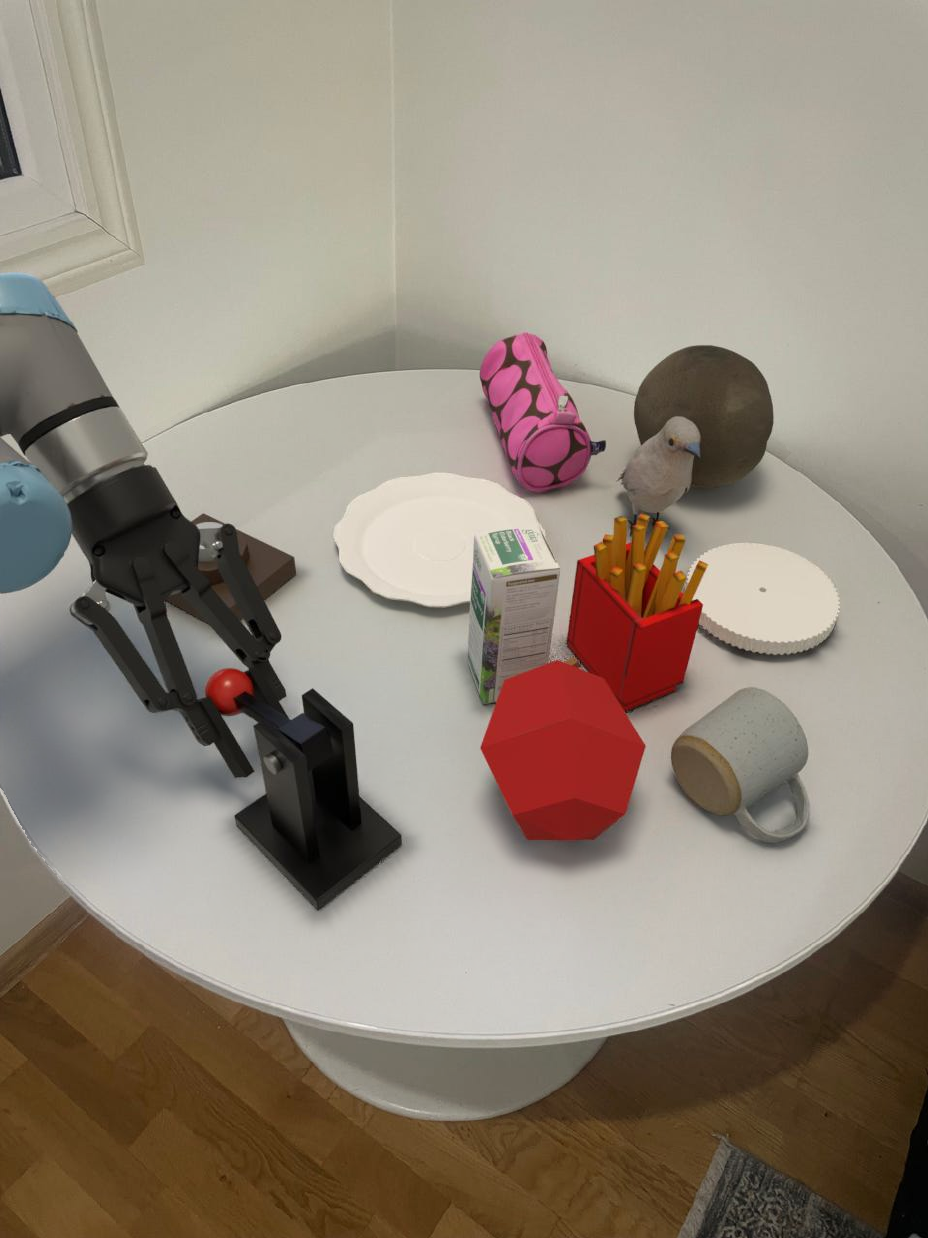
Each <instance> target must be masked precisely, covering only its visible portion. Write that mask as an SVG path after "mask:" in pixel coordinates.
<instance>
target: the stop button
mask: <svg viewBox="0 0 928 1238" xmlns="http://www.w3.org/2000/svg"><path fill="white" fill-rule="evenodd" d="M196 526H197V527H198V529H206V528H220V527H222V526H223V525H222V524H219V523H215V522H204V523H200V524H197V525H196ZM213 561H215V558H214V557H211V556H210V555H208V554H207V552H206V549H205V548H204V547H203V546H202V545H200V549H199V561H198V562H213Z"/></svg>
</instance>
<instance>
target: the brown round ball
mask: <svg viewBox="0 0 928 1238" xmlns="http://www.w3.org/2000/svg"><path fill="white" fill-rule="evenodd" d="M675 416H680V417H685V418H686V419H688V420H690V421H692V422H693V423H694V424H695V425H696V427H697V428H698V430H699V433H700V437H701V438H700V444H699V447H700V459H699V458H697V457H696V456H694V459H693V466H692V475H691V476H692V478H691V485H690V486H692V487H696V488H704V489H705V488H707V489H715V488H720V487H725V486H729V485H733V484H735V483H738V482H739V481H742V480H743V479H745V478H746V477H747V476H748V475H750V474H751V473H752V472H753V471H754V470H755V469H756V468H757V466H759V464H760V463H761V461H762V460H763V458H764V456H765V454H766V450H767V445H768V442H769V439H770V437H771V435H772V432H773V427H774V418H775V417H774V404H773V399H772V396H771V391H770V388H769V384H768V381H767V380H766V378H765V376H764V375H763V373H762V372H761V370H760V369H759V368H758V366H757V365H756V364H755V363H754V362H753V361H751V360H750V359H748V358H746V357H745V356H743V355H742V354H739V353H737V352H736V351H733V350H731V349H728V348H725V347H721V346H717V345H711V344H700V345H699V344H698V345H697V344H696V345H690V346H686V347H683V348H680V349H678V350H676V351H674V352H672V353H670V354H669V355H667V356H666V357H665V358H664V359H662V360H660V362H659V363H657V364H656V365H654V367H653V368H652V369H651V370H650V371H649V372H648V373H647V375H646V376H645V377H644V378H643V380H642V381H641V383H640V385H639V387H638V391H637V394H636V396H635V399H634V406H633V420H634V425H635V428H636V433H637V437H638V441H639V444H640V447H641V446H642V445H643V444H644V443H645V442H646V441H647V440H648V439H650V438H652V437H653V436H655V435H657V434H658V433H659V432H660V431H661V430H662V428H663V427H664V426H665V424H666V423H667V422H668V420H670V419H671V418H673V417H675Z"/></svg>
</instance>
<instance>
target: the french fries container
mask: <svg viewBox="0 0 928 1238" xmlns="http://www.w3.org/2000/svg"><path fill="white" fill-rule="evenodd" d="M650 516H651V515H648V514H645V513H642V512H640V514H639V516H637V520H636V525H634V526H632V535H631V541H630V542H627V535H628V518H626V517H625V516H623V515H620V516H617V517H614V518H613V534H604V536H603V538H602V541H600V542H598V543H596V544H594V545H593V554H591V555H589V556H585V557H583V558H580V559H577V560H576V567H575V575H574V584H573V591H572V597H571V605H570V613H569V620H568V621H569V622H568V629H567V636H566V646H567V647H568V648H569V649H570V650H571V652H572V653H573V654H574V655H575V656H576V657H577V659H578V661H580V663H581V664H582V665H583V666H584V667H585V668H586V669H587V671H588V672H589V673H592V674H594V675H597V676H599V677H602V678H604V679H605V681H606V683H607V684H608V686H609V687H610V689H611V691H612V692H613V694H614V695H615V697H616V699H617V700H618V702H619V704H620V705H621V707H622V708H623V710H624V712H625V713H626V712H628V711H630V710H634V709H635V708H638V707H641V706H643V705H646V704H647V703H651V702H652V701H655V700H658V699H659V698H662V697H664V696H667V695H669V694H671V693H674V692H675V691H676V689H677V688H676V687H677V686H678V685H681V684H683V683H684V681H685V677H686V674H687V669H688V666H689V661H690V657H691V654H692V650H693V647H694V643H695V638H696V634H697V630H698V627H699V619H700V615H701V611H702V608H703V604H702V603H701V602H700V601H699V600H698V599H695V600H693V601H692V599H693V597H694V595H695V593H696V590H697V588H698V586H699V584H700V582H701V579H702V577H703V575H704V573H705V571H706V568H707V566H708V564H707V563H704V562H702V561H700V560H699V562H698V563H697V565H696V568H695V570H694V572H693V574H692V576H691V579H690V581H689V583H688V585H687V588H686V590H684V591H685V592H684V591H683V592H682V590H683V588H684V586H685V584H686V579H687V575H686V574H685V573H684V572H683V570H679V571H677V566H678V562H679V559H680V556H681V553H682V551H683V549H684V546H685V544H686V538H685V537H684V535H683V534H673V535H672V538H671V541H670V544H669V545H668V549H667V552H666V553H665V554H664V557H663V562H662V565H661V568H660V569H659V568H658V567H657V566H656V564H654V563H655V561H656V558H657V556H658V554H659V551H660V548H661V546H662V544H663V541H664V540H665V537H666V534H667V531H668V530H669V529H668V528H669V525H668V523H666V522H665V521H663V520H660V521H659V520H658V522H656V523H655V526H654V528H653V527H652V530H651V533H650V536H649V539H648V541H647V544H646V534H647V533H646V532H647V529H648V525H649V521H650V518H651V517H650Z"/></svg>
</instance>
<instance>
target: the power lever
mask: <svg viewBox="0 0 928 1238" xmlns="http://www.w3.org/2000/svg"><path fill="white" fill-rule="evenodd" d="M244 672H245V671H243V670H241V669H238V668H235V667H234V668H233V667H228V668H227V667H226V668H222V669H219V670H217V671H215V672H214V673H213V674H212V675H211V676H209V678H208V679H207V681H206V684H205V686H204V697H207V696H210V697H211V699H212V700H213V702H214V704H215V705H216V707H217V709H218V710H219V712H220V714H221V715H222V717H235V716H238V715H241V714H244V715H246V716H247V717H249V718H251V719H252V720H253V721H255V722H257V723H259V722H260V721H262V720H263V719H265V718H266V719H267V720H268V721H269V722H270V723H271V724H272V725H273V726H274V727H275V728H276V729H277V730H279V731H280V732H281V733H282V734H283V735H284V736H285V737H286V738H287V739H288V740H289V741H290V742H292V743H293V744H294V745H295V746H296V747H297V748H298V749H299V750H300V751H301V752H302V753H303V754H304V755H305V756H306V762H307V769H308V771H310V770H312V769H313V768H315V767H316V766H318V765H319V764H320V763H322V762H323V761H325V760H326V759H328V758H329V757H331V756H332V755H333V754H334V751H333V748H332V745H331V742H330V739H329V735H328V732H327V729H326V727H325V726H323V725H322V724H320V723H318V722H317V721H315V720H314V719H312V718H310V717H309V716H307V715H305V714H304V712H301V713H300V714H298V715H297V716H295V717H293V718H292V719H291V718H290V717H289V718H287V717H285V716H284V715H282V714H281V713H279V712H277V711H276V710H274V709H273V708H271V707H270V706H268V705H266V704H265V703H263V702H262V701H260V700H259V699H257V698H255V697H254V687H253V684H252V681H251V680H250V678H249V677H248V676H247V675H246V674H245V673H244Z"/></svg>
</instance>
